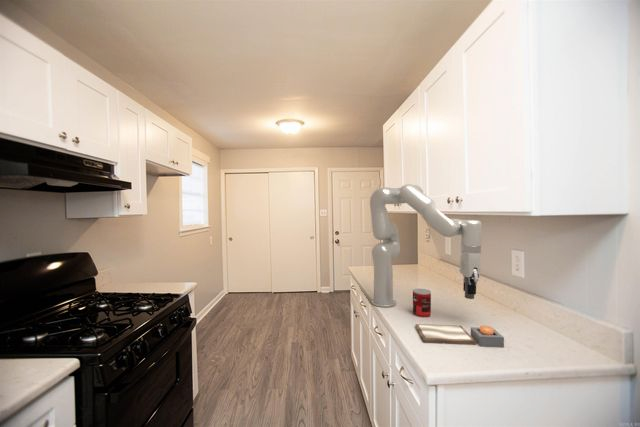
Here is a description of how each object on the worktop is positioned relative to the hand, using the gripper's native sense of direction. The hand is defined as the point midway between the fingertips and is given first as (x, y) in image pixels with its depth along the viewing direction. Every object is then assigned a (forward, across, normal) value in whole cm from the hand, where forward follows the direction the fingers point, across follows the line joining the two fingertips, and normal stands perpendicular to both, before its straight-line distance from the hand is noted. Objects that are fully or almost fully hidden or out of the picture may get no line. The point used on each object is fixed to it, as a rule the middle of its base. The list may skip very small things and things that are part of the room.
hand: (469, 292), depth 121 cm
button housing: (+13, +17, 0) cm, 21 cm away
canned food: (+14, -9, -17) cm, 24 cm away
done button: (+11, +17, 0) cm, 20 cm away
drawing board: (+14, +13, -14) cm, 23 cm away
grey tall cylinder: (+2, 0, 0) cm, 2 cm away
